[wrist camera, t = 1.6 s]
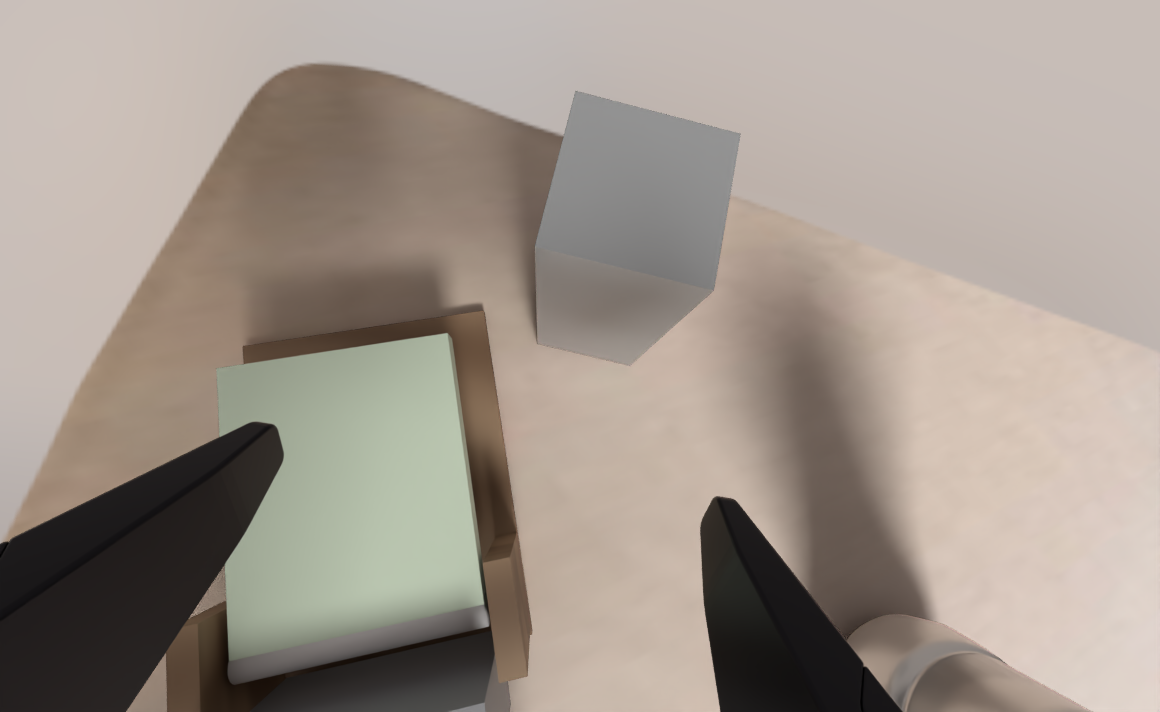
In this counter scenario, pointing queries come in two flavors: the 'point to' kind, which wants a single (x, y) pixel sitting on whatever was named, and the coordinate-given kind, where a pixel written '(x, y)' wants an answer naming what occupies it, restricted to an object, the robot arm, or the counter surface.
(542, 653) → the counter surface
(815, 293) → the counter surface
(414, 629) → the trapdoor
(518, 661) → the frame
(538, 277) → the grey rectangular block
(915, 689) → the plastic bottle
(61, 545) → the robot arm
